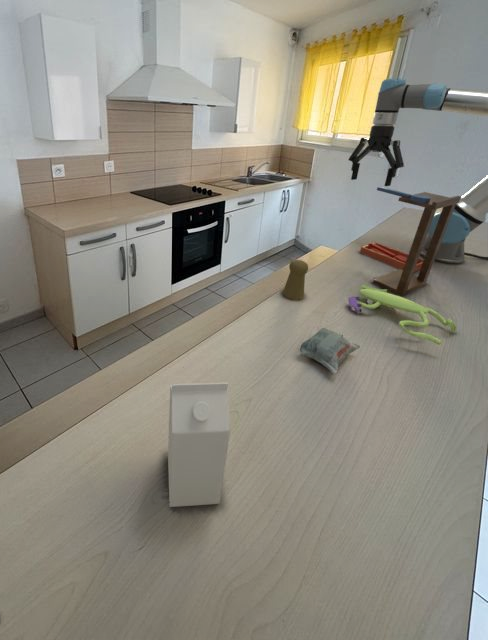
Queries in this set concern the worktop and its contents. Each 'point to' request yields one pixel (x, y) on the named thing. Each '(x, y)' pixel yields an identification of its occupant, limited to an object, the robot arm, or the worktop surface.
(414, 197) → the blue spoon
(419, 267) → the tray
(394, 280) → the slanted wooden stand
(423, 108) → the robot arm
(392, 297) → the figurine
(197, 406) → the milk carton
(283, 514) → the worktop surface
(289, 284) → the cork
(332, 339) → the packaged food
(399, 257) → the red spoon
